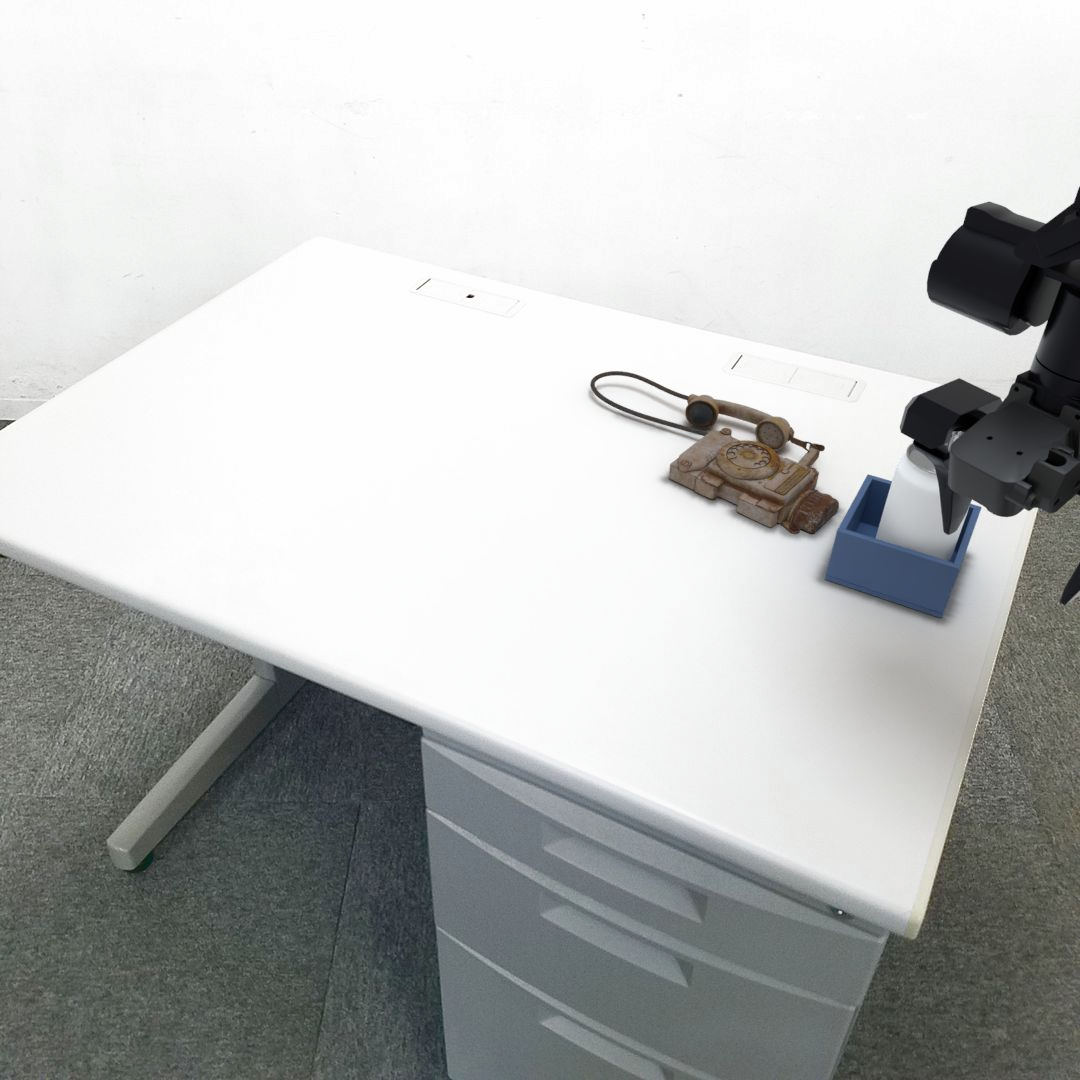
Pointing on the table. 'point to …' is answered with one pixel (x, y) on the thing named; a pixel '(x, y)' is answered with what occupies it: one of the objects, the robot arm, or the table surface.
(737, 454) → the telephone
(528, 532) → the table surface
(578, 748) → the table surface
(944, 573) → the bin
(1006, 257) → the robot arm
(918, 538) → the can
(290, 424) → the table surface
